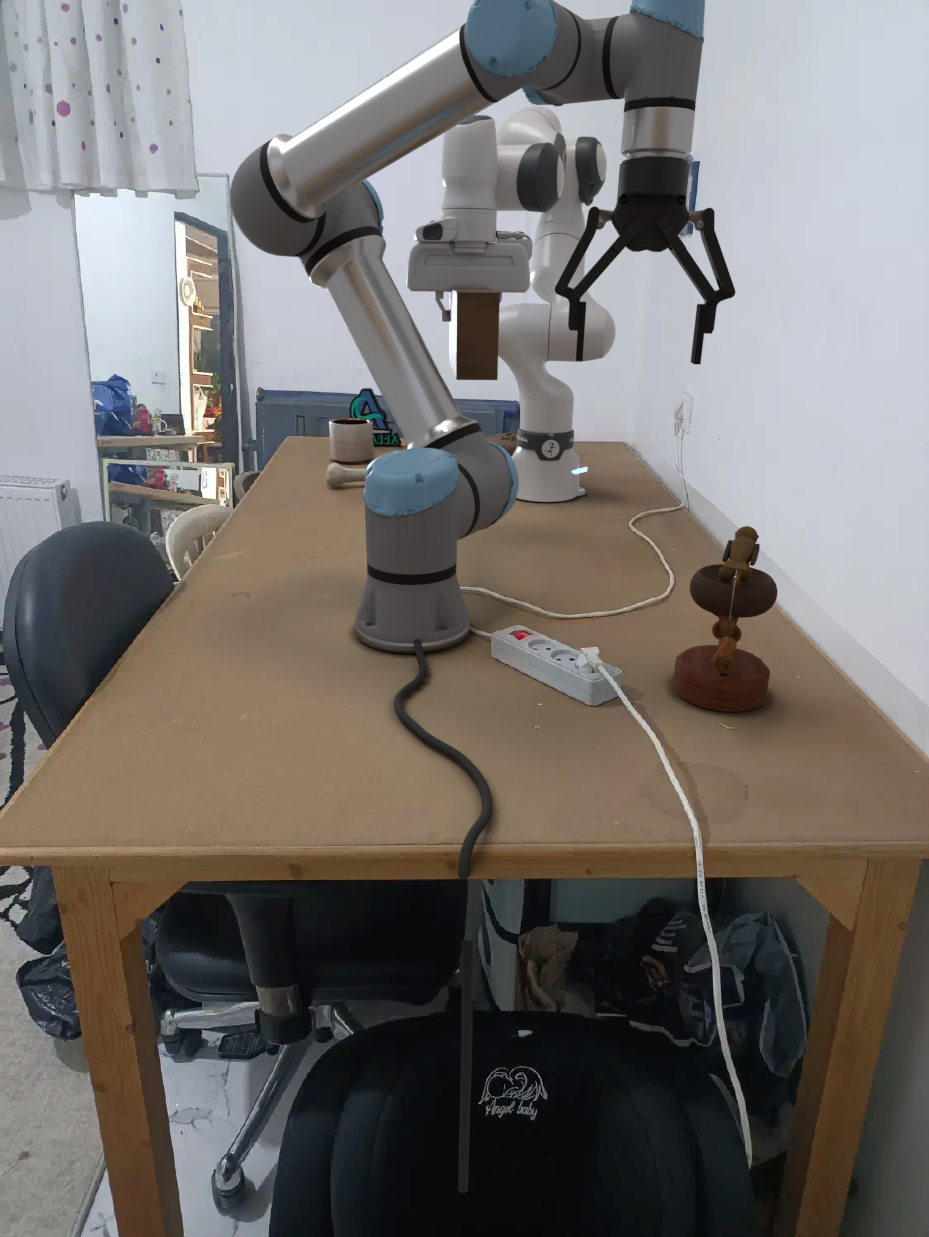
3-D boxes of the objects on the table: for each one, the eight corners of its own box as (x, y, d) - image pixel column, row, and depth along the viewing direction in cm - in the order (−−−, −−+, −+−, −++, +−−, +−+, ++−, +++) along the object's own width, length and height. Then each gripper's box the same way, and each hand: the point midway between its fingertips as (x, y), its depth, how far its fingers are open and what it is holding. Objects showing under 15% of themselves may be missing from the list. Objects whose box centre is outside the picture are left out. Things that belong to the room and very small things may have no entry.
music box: (784, 722, 91) (798, 544, 84) (680, 722, 93) (685, 548, 85) (755, 661, 105) (765, 505, 98) (665, 663, 107) (668, 509, 99)
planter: (327, 456, 217) (325, 418, 214) (369, 454, 220) (368, 417, 217) (334, 465, 208) (332, 425, 204) (377, 463, 211) (376, 424, 207)
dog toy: (415, 481, 193) (415, 459, 191) (418, 487, 188) (418, 465, 186) (325, 483, 190) (324, 461, 188) (326, 489, 184) (325, 466, 182)
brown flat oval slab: (485, 467, 208) (485, 449, 207) (478, 445, 234) (478, 430, 233) (570, 467, 209) (571, 450, 208) (554, 445, 235) (554, 430, 234)
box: (497, 380, 123) (499, 292, 118) (456, 380, 122) (456, 292, 118) (483, 361, 146) (485, 287, 142) (448, 360, 146) (449, 287, 141)
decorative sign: (401, 444, 234) (401, 388, 228) (400, 446, 231) (399, 390, 226) (333, 442, 235) (331, 387, 229) (332, 444, 232) (329, 388, 227)
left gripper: (764, 163, 94) (738, 361, 102) (540, 162, 96) (532, 356, 104) (781, 154, 87) (751, 367, 95) (539, 153, 89) (530, 362, 98)
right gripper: (530, 232, 139) (527, 321, 144) (406, 230, 138) (407, 319, 143) (535, 231, 133) (531, 323, 138) (405, 228, 132) (406, 322, 137)
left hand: (636, 362), depth 100 cm, fingers open, 13 cm apart
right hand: (467, 321), depth 141 cm, fingers closed on box, 6 cm apart
